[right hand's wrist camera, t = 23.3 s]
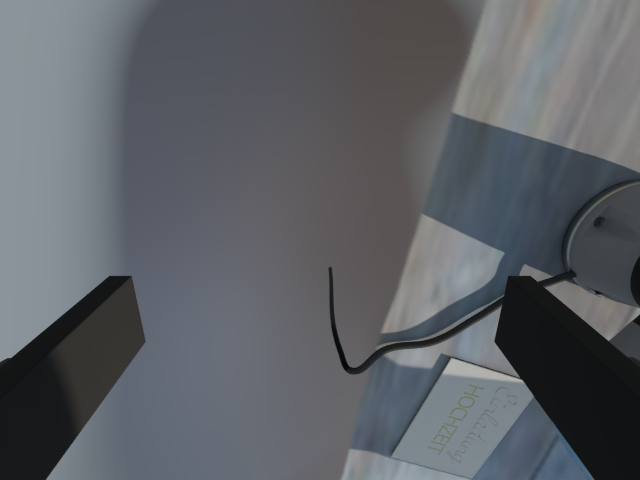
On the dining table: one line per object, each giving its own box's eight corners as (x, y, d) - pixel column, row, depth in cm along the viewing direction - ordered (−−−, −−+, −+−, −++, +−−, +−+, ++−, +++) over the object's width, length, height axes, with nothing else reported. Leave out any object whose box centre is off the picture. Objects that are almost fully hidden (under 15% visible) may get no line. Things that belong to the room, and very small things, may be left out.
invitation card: (451, 358, 52) (541, 386, 53) (451, 357, 52) (540, 385, 54) (391, 457, 59) (472, 479, 61) (390, 456, 59) (471, 477, 61)
